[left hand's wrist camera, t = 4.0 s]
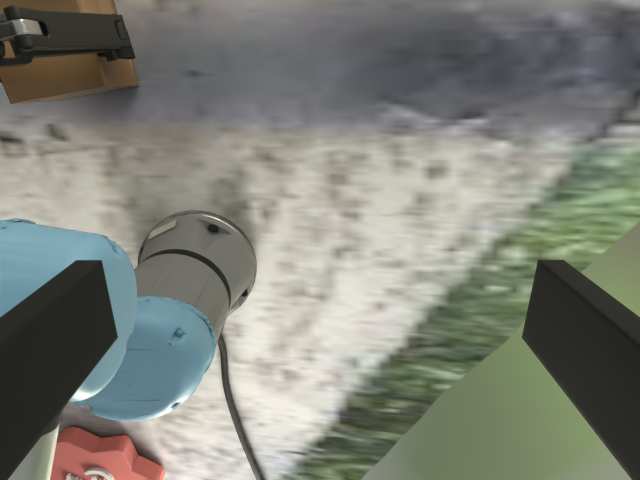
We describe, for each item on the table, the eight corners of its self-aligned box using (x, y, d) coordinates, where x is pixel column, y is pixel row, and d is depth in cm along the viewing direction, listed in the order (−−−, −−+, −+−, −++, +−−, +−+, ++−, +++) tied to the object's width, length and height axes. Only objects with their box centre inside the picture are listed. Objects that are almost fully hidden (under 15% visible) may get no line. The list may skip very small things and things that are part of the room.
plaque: (170, 477, 65) (129, 530, 70) (178, 456, 69) (138, 508, 73) (62, 428, 62) (25, 487, 66) (76, 408, 65) (40, 466, 70)
